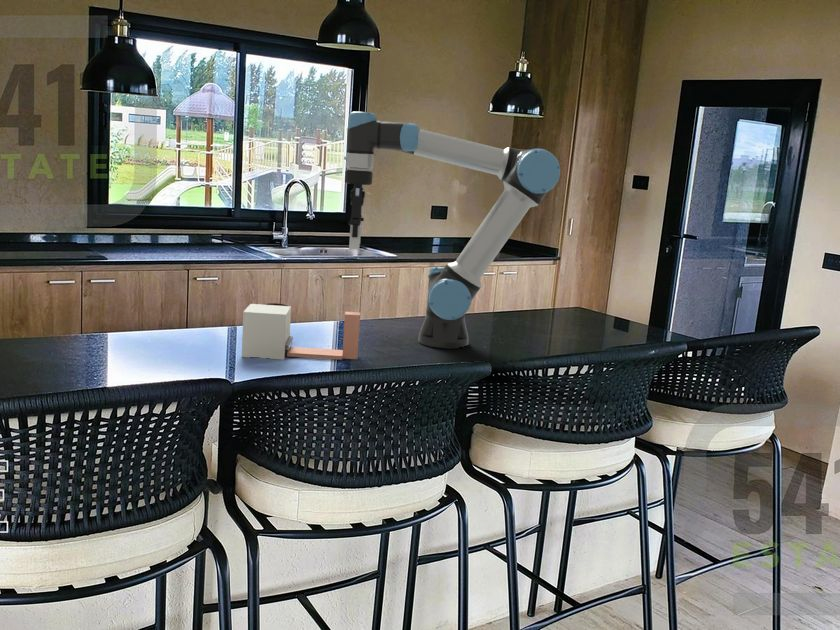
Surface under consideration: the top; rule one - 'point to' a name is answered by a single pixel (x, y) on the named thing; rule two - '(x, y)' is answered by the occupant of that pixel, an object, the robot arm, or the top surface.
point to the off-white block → (266, 331)
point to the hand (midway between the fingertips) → (354, 246)
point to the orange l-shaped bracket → (347, 353)
